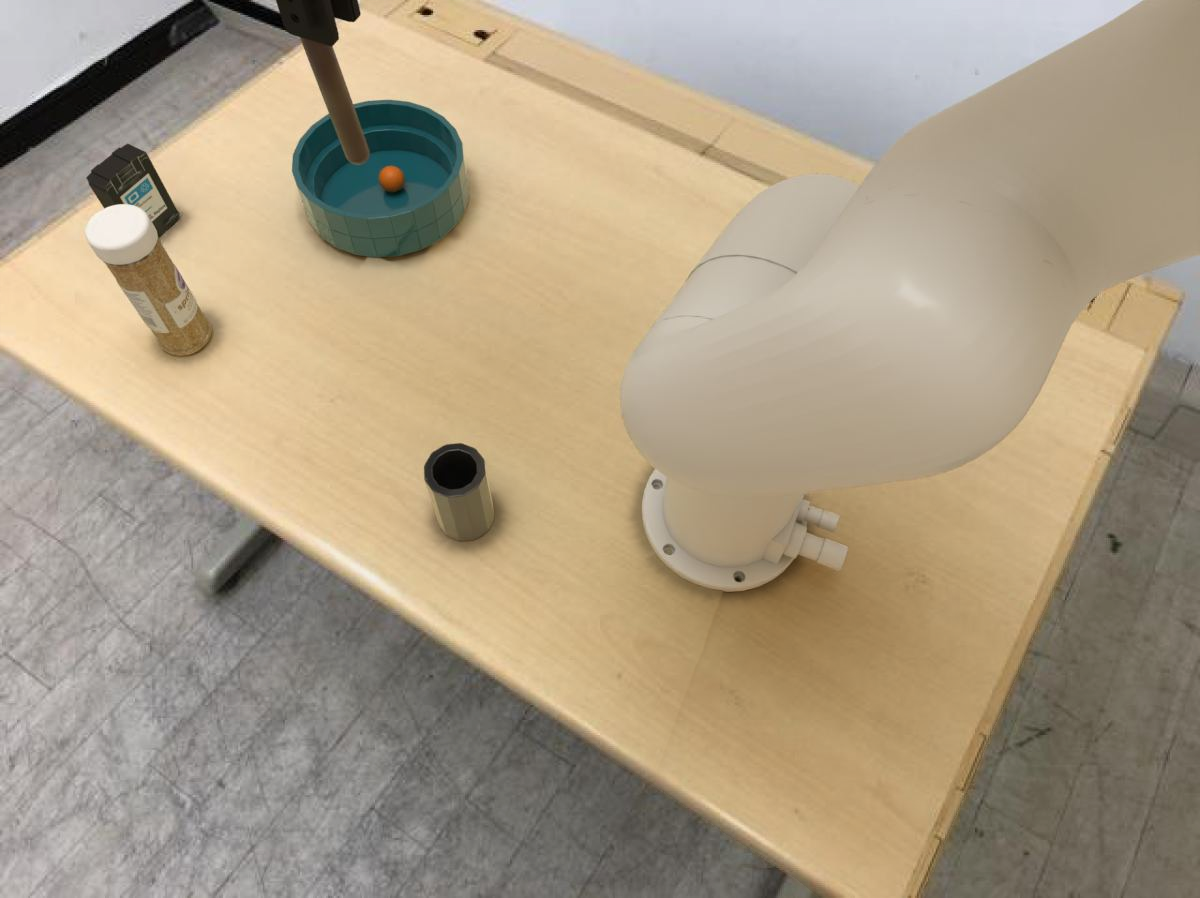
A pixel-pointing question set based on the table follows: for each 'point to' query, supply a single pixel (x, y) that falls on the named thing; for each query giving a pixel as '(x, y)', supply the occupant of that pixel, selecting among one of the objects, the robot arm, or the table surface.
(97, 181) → the ink cartridge
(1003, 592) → the table surface
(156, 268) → the sprinkles bottle
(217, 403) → the table surface
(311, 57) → the stick
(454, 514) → the holder
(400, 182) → the ball
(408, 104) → the bowl
